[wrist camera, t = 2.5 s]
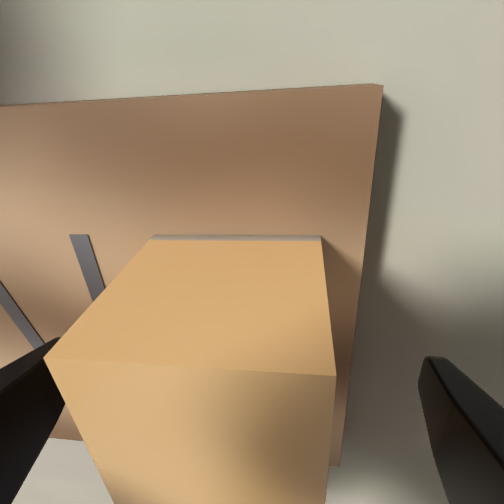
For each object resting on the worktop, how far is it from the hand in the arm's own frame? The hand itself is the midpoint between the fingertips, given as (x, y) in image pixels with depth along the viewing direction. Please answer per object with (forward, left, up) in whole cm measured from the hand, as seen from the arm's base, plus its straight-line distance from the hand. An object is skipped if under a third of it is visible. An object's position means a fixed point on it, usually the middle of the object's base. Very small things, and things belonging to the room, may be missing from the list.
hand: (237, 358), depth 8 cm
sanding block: (0, 0, -1) cm, 1 cm away
